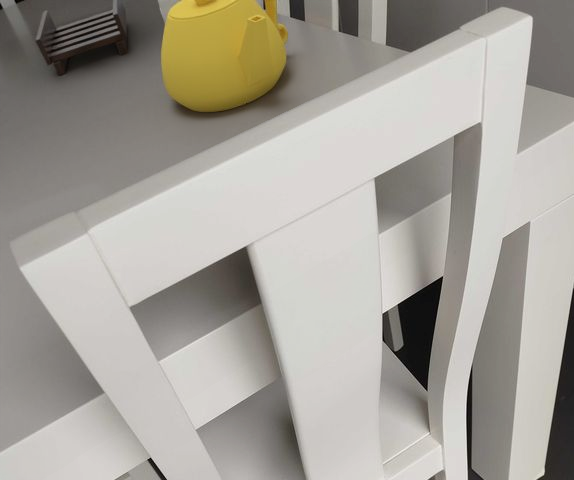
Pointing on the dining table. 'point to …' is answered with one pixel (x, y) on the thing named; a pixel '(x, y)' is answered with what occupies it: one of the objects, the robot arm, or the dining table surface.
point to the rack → (81, 36)
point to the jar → (166, 7)
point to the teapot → (221, 52)
